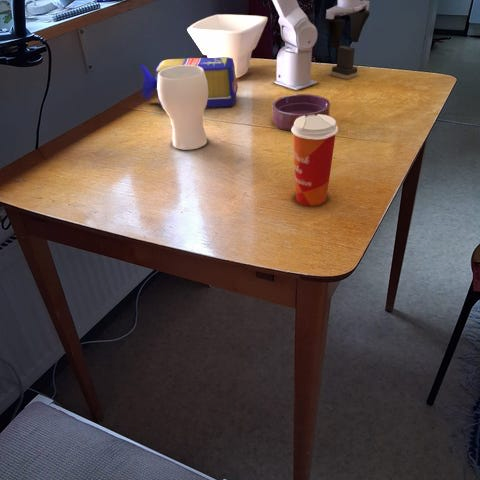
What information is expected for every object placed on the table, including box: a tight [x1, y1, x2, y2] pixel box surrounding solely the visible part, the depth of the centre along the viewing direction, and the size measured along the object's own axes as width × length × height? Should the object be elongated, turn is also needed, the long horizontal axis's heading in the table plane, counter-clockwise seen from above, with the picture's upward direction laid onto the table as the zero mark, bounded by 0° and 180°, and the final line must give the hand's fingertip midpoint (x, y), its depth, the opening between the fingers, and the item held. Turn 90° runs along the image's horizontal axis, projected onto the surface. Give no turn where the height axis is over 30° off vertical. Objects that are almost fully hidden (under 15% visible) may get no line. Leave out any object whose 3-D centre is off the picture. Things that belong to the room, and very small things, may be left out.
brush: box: [331, 45, 358, 80], centre depth 136 cm, size 6×4×7 cm, turn 38°
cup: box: [156, 65, 208, 151], centre depth 104 cm, size 11×11×15 cm
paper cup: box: [290, 114, 339, 207], centre depth 84 cm, size 8×8×14 cm
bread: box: [139, 57, 239, 110], centre depth 125 cm, size 10×25×10 cm, turn 85°
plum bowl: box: [271, 93, 331, 132], centre depth 114 cm, size 13×13×4 cm
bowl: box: [187, 13, 269, 79], centre depth 138 cm, size 19×19×14 cm
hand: (344, 44), depth 133 cm, fingers open, 7 cm apart
